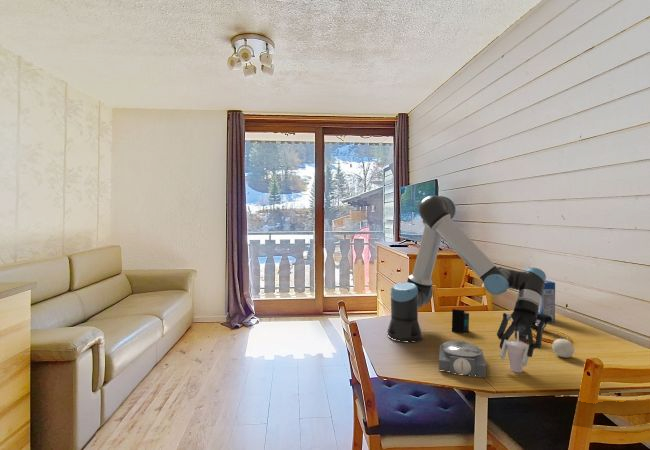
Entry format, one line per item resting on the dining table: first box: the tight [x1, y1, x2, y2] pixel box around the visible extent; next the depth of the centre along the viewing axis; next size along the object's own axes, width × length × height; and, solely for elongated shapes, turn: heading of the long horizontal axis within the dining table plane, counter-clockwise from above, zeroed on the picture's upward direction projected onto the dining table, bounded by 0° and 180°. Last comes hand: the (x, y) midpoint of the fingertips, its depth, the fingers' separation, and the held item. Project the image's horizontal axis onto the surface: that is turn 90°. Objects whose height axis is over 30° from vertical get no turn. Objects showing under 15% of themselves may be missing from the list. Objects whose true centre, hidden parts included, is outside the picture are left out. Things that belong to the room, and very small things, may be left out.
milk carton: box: [538, 279, 556, 323], centre depth 170 cm, size 10×6×20 cm, turn 179°
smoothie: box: [506, 331, 528, 373], centre depth 117 cm, size 6×6×14 cm
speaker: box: [451, 308, 470, 334], centre depth 156 cm, size 8×6×10 cm
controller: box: [531, 312, 552, 330], centre depth 156 cm, size 4×12×10 cm, turn 18°
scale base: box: [438, 343, 487, 378], centre depth 121 cm, size 15×16×6 cm
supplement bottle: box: [514, 327, 529, 342], centre depth 145 cm, size 6×6×11 cm
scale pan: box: [442, 340, 482, 358], centre depth 121 cm, size 13×13×1 cm
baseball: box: [551, 338, 575, 359], centre depth 127 cm, size 7×7×7 cm
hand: (512, 360), depth 114 cm, fingers closed on smoothie, 6 cm apart
